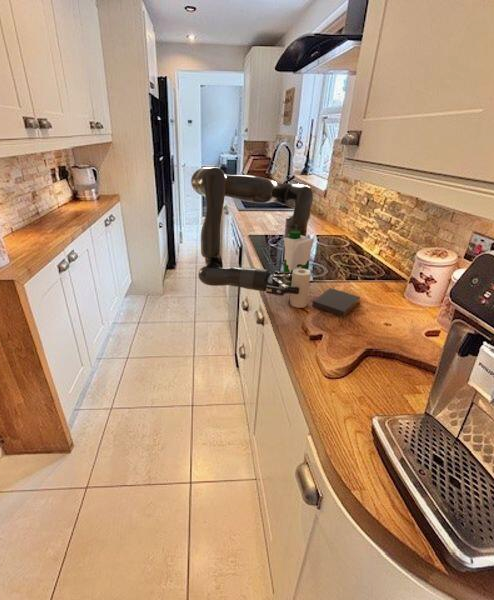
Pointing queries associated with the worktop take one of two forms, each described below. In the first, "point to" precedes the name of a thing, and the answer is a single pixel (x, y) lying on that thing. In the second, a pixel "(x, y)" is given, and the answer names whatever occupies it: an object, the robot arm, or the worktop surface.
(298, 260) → the soya milk
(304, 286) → the paper roll
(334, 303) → the slate board
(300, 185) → the robot arm
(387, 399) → the worktop surface
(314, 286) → the worktop surface
